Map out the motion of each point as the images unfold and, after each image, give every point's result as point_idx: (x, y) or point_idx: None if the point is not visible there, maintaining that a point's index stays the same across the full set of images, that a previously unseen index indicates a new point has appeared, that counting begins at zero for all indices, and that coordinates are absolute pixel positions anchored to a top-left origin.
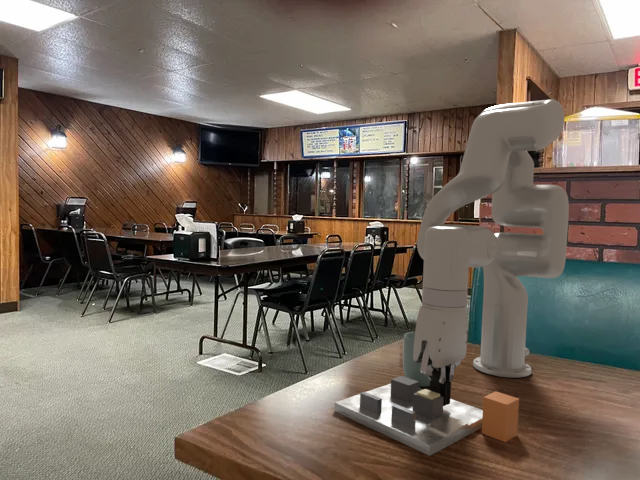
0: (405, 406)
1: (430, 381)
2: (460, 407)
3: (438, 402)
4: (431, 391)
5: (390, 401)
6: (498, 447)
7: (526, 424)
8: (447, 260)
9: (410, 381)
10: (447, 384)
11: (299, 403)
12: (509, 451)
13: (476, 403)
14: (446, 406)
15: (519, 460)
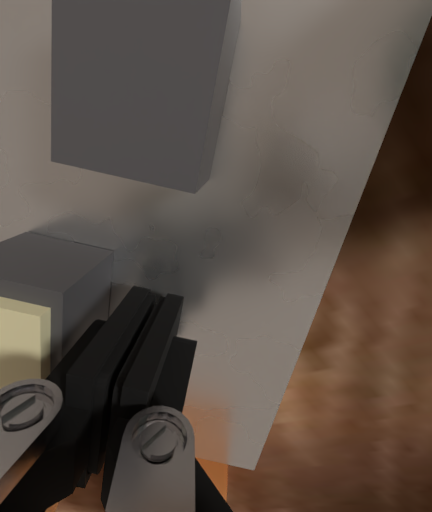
0: (47, 175)
1: (79, 359)
2: (231, 380)
3: None
4: (32, 362)
5: (37, 58)
6: (101, 470)
7: (307, 504)
8: None
9: (146, 127)
10: (87, 477)
11: None
12: (101, 489)
13: (418, 367)
14: (201, 332)
15: (75, 507)
